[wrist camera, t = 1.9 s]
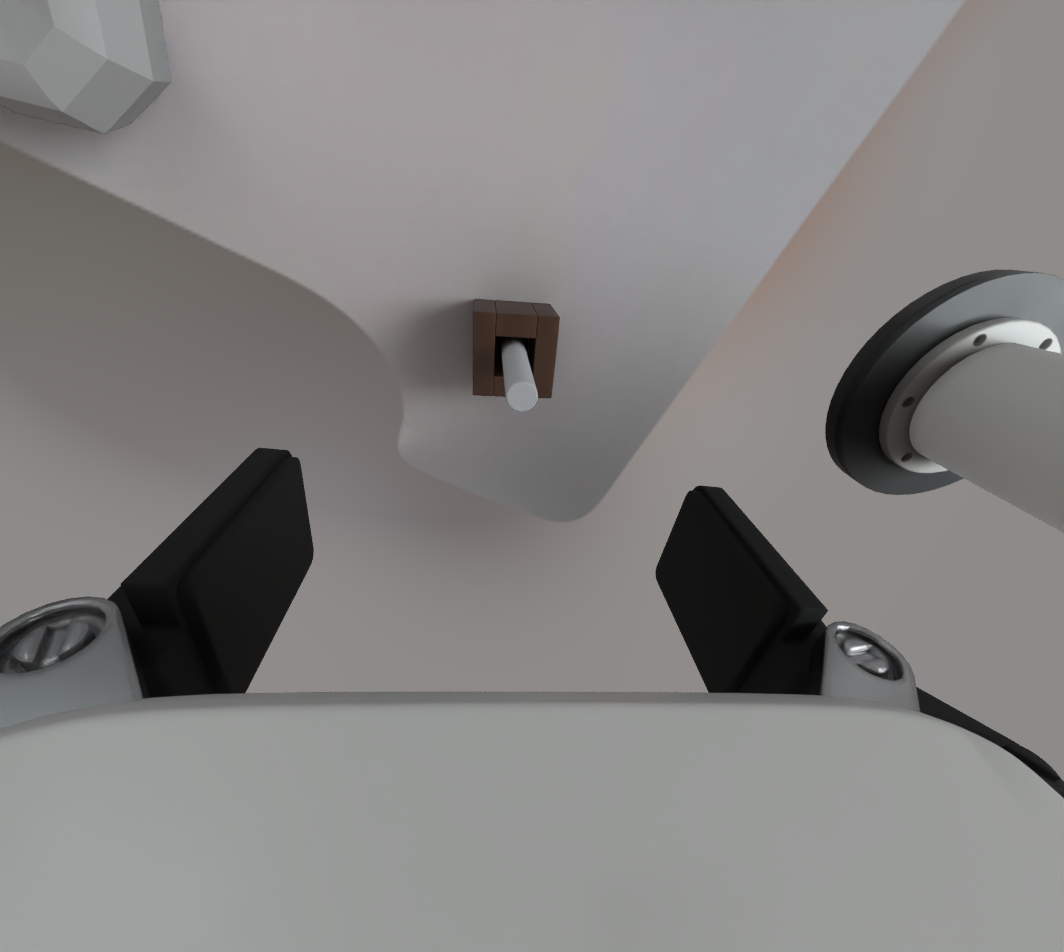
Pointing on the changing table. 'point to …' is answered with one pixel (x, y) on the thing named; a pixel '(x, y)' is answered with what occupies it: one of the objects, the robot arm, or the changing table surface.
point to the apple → (82, 60)
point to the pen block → (513, 322)
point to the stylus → (517, 375)
